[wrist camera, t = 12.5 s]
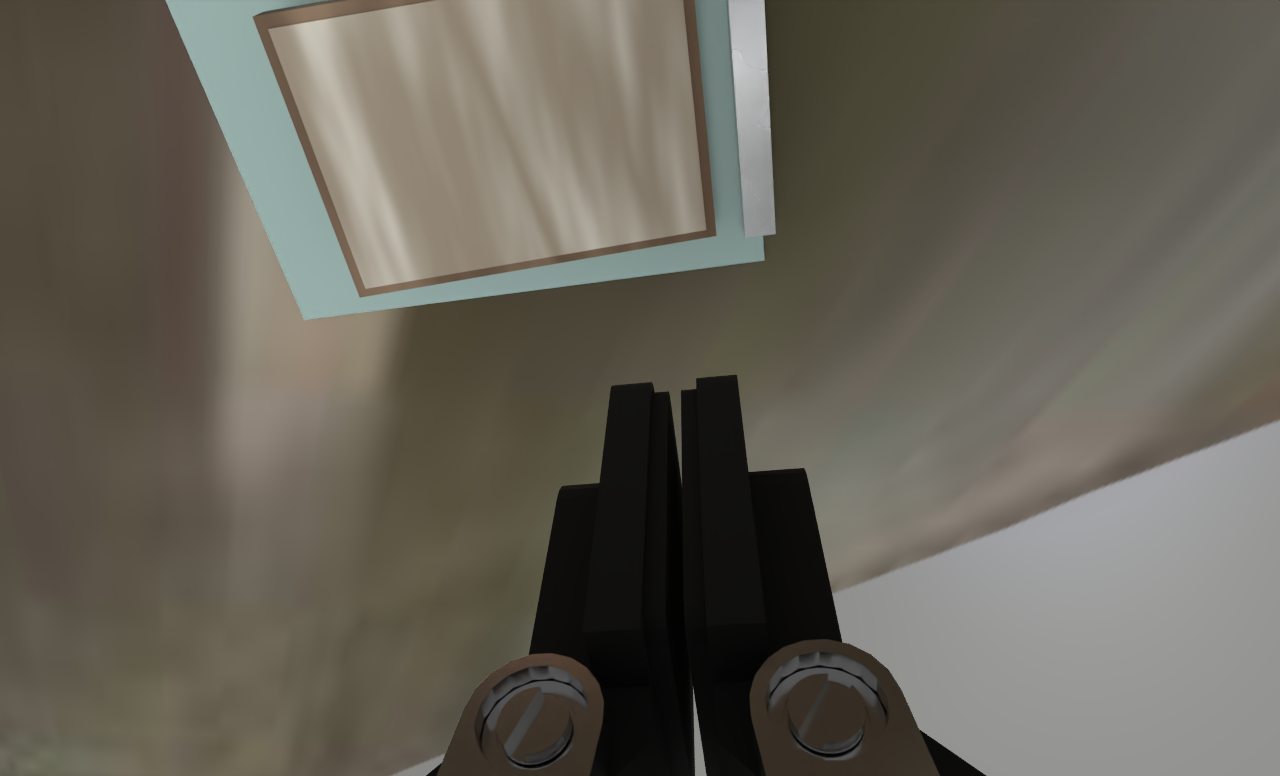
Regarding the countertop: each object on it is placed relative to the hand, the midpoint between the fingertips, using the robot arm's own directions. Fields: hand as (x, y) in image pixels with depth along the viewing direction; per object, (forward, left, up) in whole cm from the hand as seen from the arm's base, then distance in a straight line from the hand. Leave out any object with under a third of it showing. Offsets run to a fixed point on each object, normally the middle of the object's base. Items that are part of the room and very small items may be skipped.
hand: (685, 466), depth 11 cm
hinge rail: (-3, 0, -22) cm, 22 cm away
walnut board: (-1, 0, -21) cm, 21 cm away
